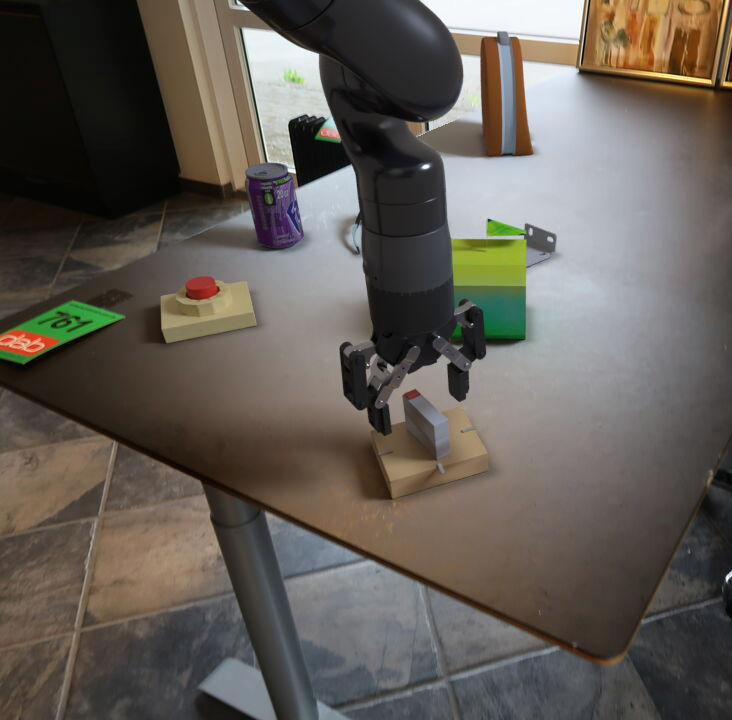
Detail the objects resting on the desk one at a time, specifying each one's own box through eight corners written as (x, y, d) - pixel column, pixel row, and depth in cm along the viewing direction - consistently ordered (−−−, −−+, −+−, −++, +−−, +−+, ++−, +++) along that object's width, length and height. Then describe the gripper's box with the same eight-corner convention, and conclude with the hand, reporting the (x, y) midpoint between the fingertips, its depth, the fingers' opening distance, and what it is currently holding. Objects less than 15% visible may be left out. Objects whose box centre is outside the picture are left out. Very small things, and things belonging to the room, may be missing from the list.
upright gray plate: (450, 453, 70) (447, 417, 67) (437, 460, 69) (433, 423, 67) (419, 422, 74) (415, 387, 71) (406, 428, 73) (401, 393, 70)
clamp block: (394, 507, 68) (391, 488, 66) (369, 441, 75) (366, 422, 74) (493, 477, 71) (492, 458, 70) (460, 417, 79) (459, 399, 77)
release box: (166, 343, 89) (156, 317, 87) (165, 309, 96) (156, 284, 94) (257, 325, 93) (250, 299, 91) (249, 294, 100) (243, 269, 97)
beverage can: (290, 254, 110) (275, 180, 103) (250, 248, 111) (232, 175, 104) (312, 234, 116) (299, 163, 109) (273, 229, 117) (258, 159, 110)
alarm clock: (536, 160, 146) (538, 43, 133) (489, 162, 145) (486, 44, 132) (524, 127, 164) (524, 21, 151) (481, 128, 163) (478, 21, 149)
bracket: (482, 262, 109) (482, 242, 107) (525, 241, 115) (525, 222, 113) (514, 276, 105) (514, 255, 103) (556, 254, 112) (557, 234, 110)
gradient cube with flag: (525, 347, 90) (526, 240, 81) (448, 346, 90) (441, 239, 81) (525, 303, 99) (526, 203, 90) (455, 303, 99) (449, 202, 90)
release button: (189, 303, 91) (185, 291, 90) (188, 290, 93) (184, 279, 92) (219, 298, 92) (215, 286, 91) (217, 285, 94) (213, 273, 93)
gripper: (354, 312, 54) (376, 465, 64) (501, 261, 62) (501, 404, 71) (311, 274, 59) (338, 422, 68) (453, 231, 66) (460, 369, 76)
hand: (421, 413), depth 70 cm, fingers open, 8 cm apart
